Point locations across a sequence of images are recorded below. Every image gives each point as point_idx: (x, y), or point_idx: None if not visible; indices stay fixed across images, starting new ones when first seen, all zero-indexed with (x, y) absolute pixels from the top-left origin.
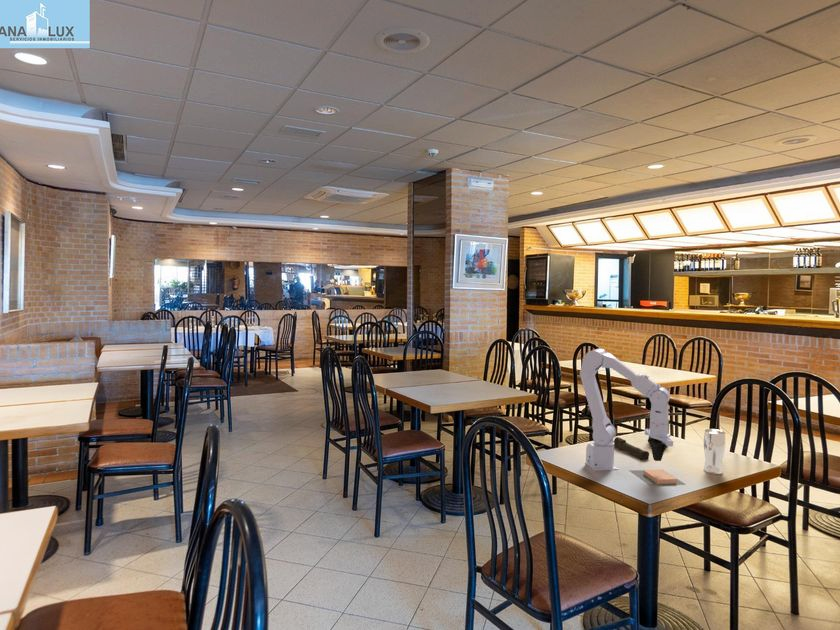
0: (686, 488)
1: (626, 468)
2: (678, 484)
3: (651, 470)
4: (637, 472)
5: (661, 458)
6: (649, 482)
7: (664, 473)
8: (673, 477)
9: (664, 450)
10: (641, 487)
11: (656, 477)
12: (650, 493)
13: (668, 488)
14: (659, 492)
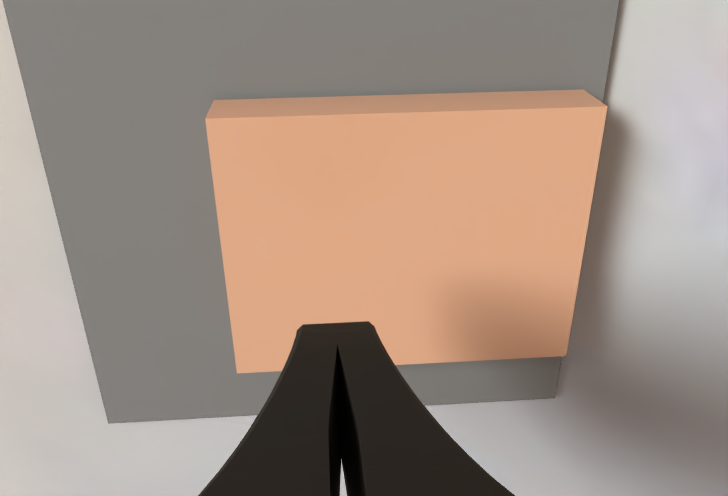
0: (711, 19)
1: (6, 405)
2: (604, 74)
3: (250, 286)
4: (166, 364)
5: (384, 348)
6: (481, 372)
7: (372, 165)
8: (544, 123)
9: (471, 463)
10: (560, 467)
11: (501, 338)
12: (700, 452)
13: (647, 243)
14: (707, 375)
